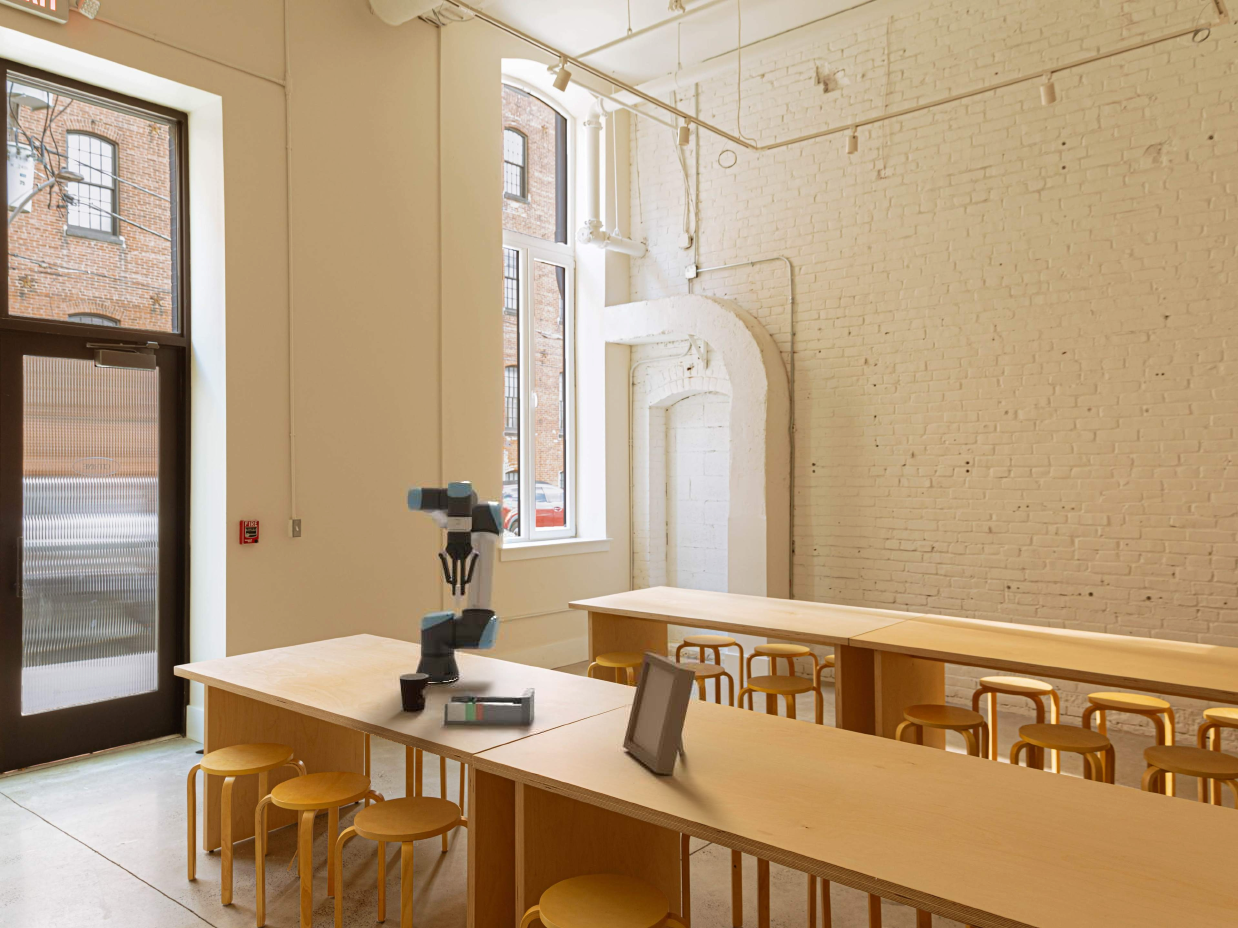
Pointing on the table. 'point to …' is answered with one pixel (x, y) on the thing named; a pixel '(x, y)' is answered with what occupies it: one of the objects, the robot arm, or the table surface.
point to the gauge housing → (491, 710)
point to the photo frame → (659, 712)
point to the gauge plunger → (468, 698)
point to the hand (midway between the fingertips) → (458, 605)
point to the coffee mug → (413, 691)
